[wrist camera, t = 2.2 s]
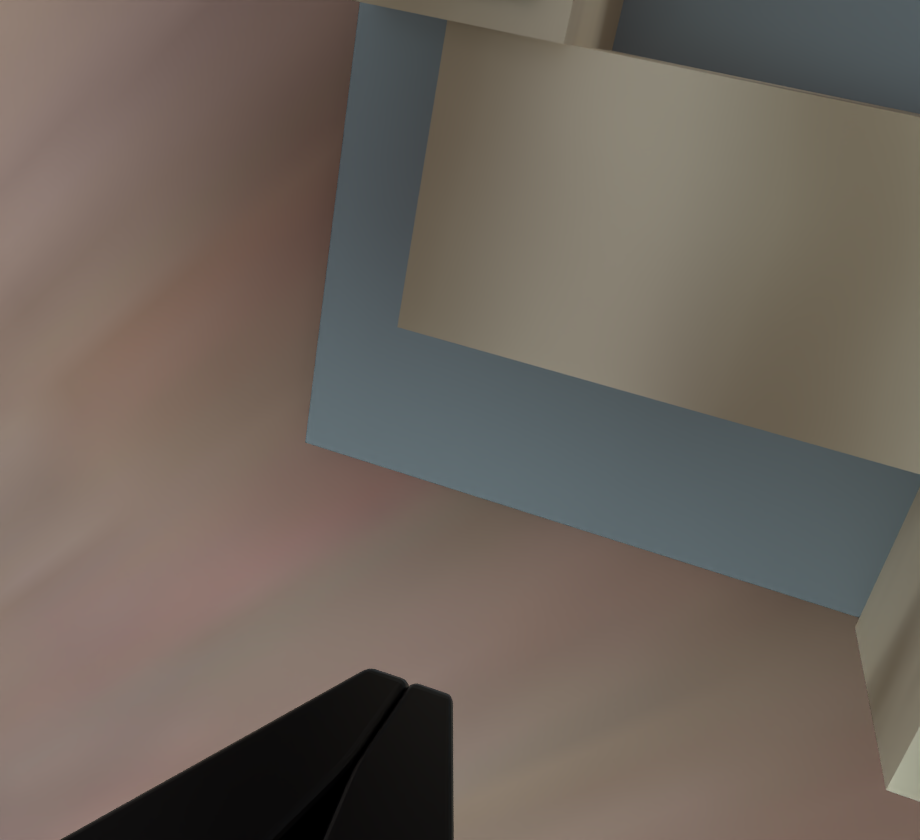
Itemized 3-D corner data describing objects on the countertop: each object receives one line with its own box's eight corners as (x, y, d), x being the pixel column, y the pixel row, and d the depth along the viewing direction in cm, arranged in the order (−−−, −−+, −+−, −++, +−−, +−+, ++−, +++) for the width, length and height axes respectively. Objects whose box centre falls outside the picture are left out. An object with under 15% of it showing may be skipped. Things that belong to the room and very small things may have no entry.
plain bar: (1272, 186, 13) (1464, 230, 10) (1125, 449, 15) (1241, 565, 12) (515, 30, 16) (447, 19, 12) (468, 274, 18) (397, 326, 14)
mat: (1639, -152, 11) (1668, -160, 11) (1108, 686, 17) (1116, 699, 17) (408, -312, 15) (399, -321, 14) (312, 436, 20) (305, 442, 20)
